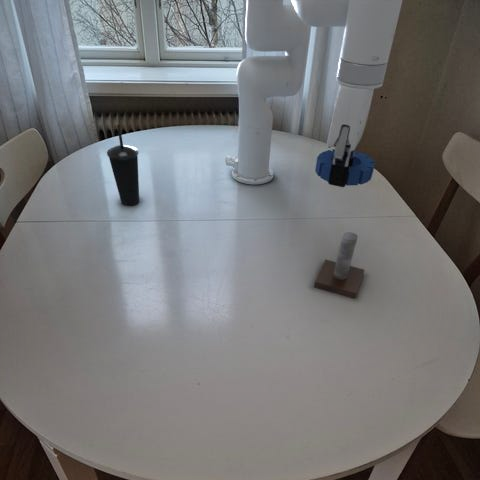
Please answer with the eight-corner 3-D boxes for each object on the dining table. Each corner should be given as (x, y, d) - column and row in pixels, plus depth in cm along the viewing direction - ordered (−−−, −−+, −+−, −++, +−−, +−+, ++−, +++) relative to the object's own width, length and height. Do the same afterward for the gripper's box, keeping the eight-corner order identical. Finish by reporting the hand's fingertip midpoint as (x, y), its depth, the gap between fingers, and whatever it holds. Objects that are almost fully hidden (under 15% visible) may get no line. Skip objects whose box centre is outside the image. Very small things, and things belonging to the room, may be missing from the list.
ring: (309, 178, 82) (311, 165, 80) (323, 158, 89) (325, 145, 88) (365, 190, 79) (369, 176, 77) (375, 168, 87) (378, 155, 85)
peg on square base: (313, 287, 93) (322, 241, 85) (324, 264, 99) (333, 220, 91) (355, 298, 90) (368, 253, 82) (363, 274, 96) (376, 230, 89)
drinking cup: (110, 204, 115) (95, 127, 101) (125, 192, 120) (114, 117, 106) (134, 211, 113) (123, 133, 99) (149, 198, 118) (141, 122, 104)
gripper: (348, 59, 76) (329, 161, 88) (325, 81, 64) (308, 195, 77) (391, 65, 74) (366, 168, 86) (376, 88, 62) (349, 204, 75)
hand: (339, 180), depth 81 cm, fingers closed on ring, 3 cm apart
